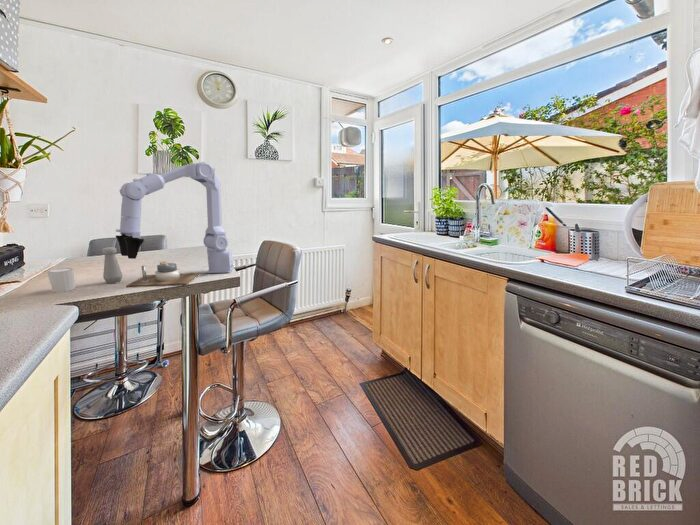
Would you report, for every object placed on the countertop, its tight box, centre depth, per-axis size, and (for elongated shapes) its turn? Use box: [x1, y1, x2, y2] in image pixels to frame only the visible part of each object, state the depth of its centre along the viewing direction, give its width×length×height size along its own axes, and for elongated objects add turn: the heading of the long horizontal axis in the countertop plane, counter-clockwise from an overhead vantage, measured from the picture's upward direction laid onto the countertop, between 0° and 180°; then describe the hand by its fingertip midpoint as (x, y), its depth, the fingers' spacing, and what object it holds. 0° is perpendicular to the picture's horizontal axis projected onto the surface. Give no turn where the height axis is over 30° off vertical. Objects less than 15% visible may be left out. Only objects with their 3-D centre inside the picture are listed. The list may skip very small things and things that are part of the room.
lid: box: [156, 260, 178, 272], centre depth 127 cm, size 12×6×2 cm, turn 39°
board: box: [125, 272, 201, 288], centre depth 126 cm, size 20×16×1 cm
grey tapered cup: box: [46, 267, 76, 293], centre depth 113 cm, size 7×7×7 cm
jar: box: [154, 268, 181, 281], centre depth 126 cm, size 8×8×3 cm
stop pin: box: [141, 265, 150, 283], centre depth 121 cm, size 3×3×6 cm
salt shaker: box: [101, 246, 123, 284], centre depth 122 cm, size 6×6×13 cm
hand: (128, 257), depth 116 cm, fingers open, 7 cm apart
